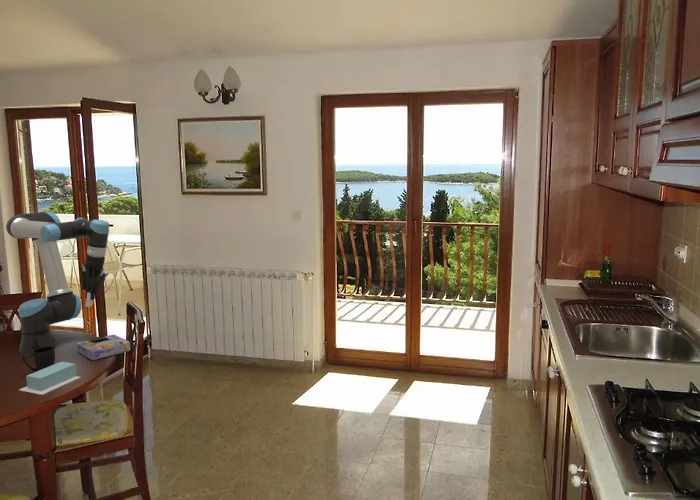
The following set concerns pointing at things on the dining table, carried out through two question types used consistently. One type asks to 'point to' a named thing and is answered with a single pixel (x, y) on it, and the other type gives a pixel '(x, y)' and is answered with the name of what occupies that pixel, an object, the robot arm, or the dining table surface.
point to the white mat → (49, 388)
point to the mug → (41, 358)
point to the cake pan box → (103, 347)
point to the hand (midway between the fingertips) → (88, 306)
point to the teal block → (51, 376)
